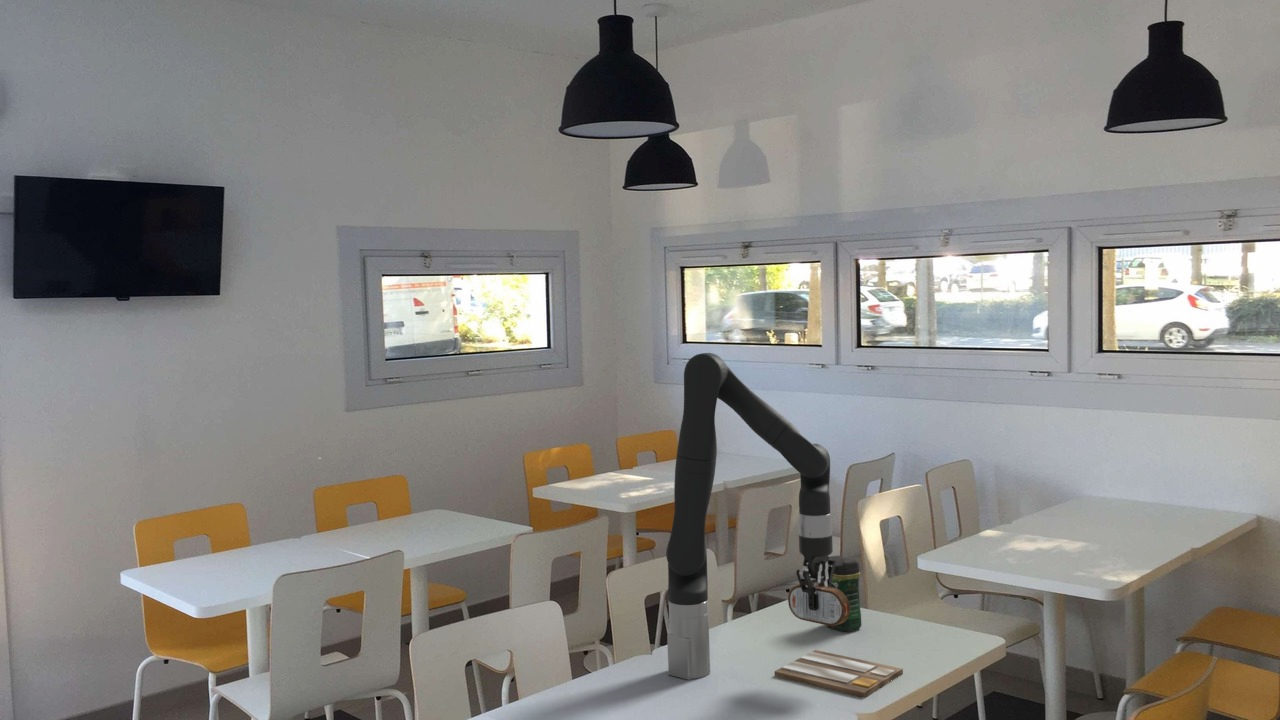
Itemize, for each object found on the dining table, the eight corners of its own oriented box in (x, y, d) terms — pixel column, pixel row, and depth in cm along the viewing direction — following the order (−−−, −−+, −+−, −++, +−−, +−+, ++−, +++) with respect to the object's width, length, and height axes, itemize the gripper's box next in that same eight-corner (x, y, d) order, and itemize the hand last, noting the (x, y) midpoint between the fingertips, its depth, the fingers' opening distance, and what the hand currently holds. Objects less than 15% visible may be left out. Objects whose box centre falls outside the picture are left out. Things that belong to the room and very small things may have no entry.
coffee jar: (867, 629, 268) (865, 558, 267) (842, 634, 264) (840, 563, 263) (843, 619, 276) (841, 551, 275) (819, 624, 273) (817, 555, 272)
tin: (850, 627, 229) (851, 589, 229) (843, 630, 227) (844, 591, 227) (792, 615, 239) (793, 579, 239) (785, 617, 236) (786, 581, 236)
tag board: (864, 698, 221) (864, 690, 221) (774, 676, 236) (774, 669, 236) (902, 673, 234) (902, 667, 234) (815, 654, 249) (815, 648, 249)
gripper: (813, 540, 224) (815, 618, 225) (845, 528, 235) (847, 603, 236) (784, 536, 229) (786, 612, 230) (817, 525, 240) (819, 598, 241)
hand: (817, 607), depth 233 cm, fingers closed on tin, 2 cm apart
